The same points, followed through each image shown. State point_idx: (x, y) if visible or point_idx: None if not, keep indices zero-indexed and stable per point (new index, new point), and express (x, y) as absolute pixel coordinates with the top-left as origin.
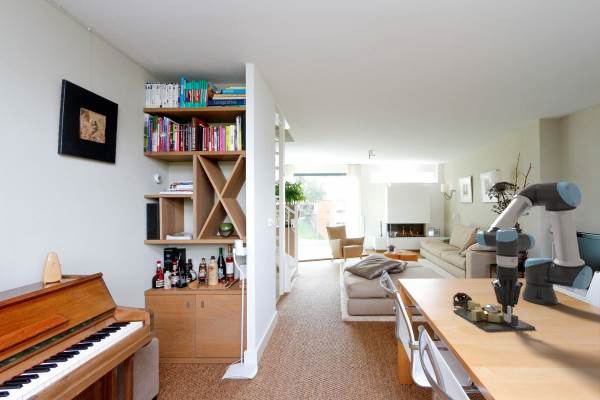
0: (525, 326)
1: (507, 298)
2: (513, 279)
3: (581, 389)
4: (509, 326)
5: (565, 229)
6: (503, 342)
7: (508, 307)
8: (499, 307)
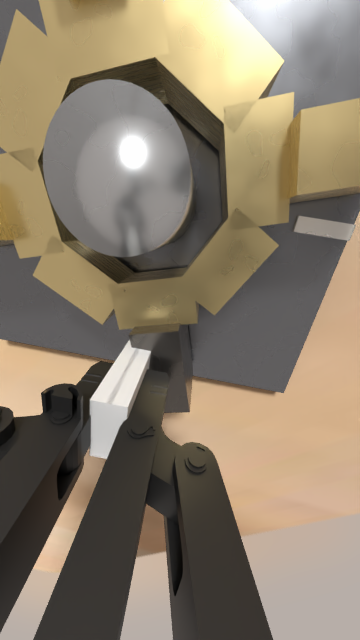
0: (238, 373)
1: (6, 590)
2: None
3: (43, 564)
4: None
5: None
6: None
7: (92, 449)
8: (293, 147)
